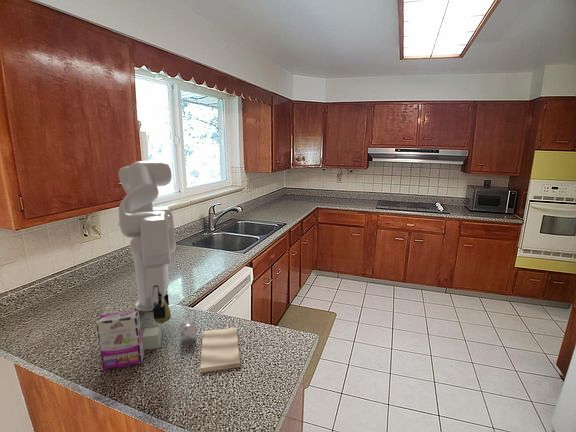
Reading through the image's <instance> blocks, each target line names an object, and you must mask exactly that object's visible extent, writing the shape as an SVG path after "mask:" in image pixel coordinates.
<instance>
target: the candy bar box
mask: <svg viewBox="0 0 576 432" xmlns="http://www.w3.org/2000/svg"><path fill="white" fill-rule="evenodd" d="M140 318H141V317H140V311H139V310H137V309H136V310H131V311H123V312H115V313H107V314H101V315H100V316H99V318H98V319H97V321H96V330H97V335H98V336H97V337H98V342H99V343H98V344H99V350H100V356H101V363H102V364H101V365H102V369H103V371H107V370H114V369H119V368H124V367H131V366H136V365H142V363H143V359H144V356H145V350H144V349H143V341H142V336H143V334H142V326H141V319H140Z"/></svg>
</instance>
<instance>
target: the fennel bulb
mask: <svg viewBox="0 0 576 432" xmlns="http://www.w3.org/2000/svg"><path fill="white" fill-rule="evenodd" d="M158 296H161V294H159V295H158ZM158 300H159V301H160V302H161V298H158ZM163 305H165V318H160V319H154V321H155V322H156V323H158V324H164V323H166V322H168V321H169V320H170V319H171V317H172V314H171V313H172V312H171V310H170V307H169V306H168V305H167V303H166V301H165V298H164V297H163Z"/></svg>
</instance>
